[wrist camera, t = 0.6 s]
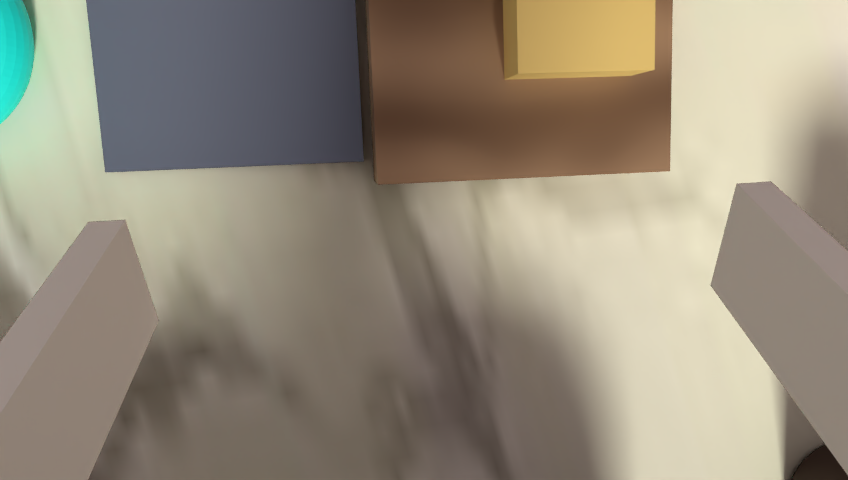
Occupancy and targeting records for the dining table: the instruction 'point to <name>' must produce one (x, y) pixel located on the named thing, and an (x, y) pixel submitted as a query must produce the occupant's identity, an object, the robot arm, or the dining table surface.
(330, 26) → the mat
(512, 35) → the yellow flat block
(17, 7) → the donuts
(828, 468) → the bottle
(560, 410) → the dining table surface
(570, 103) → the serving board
